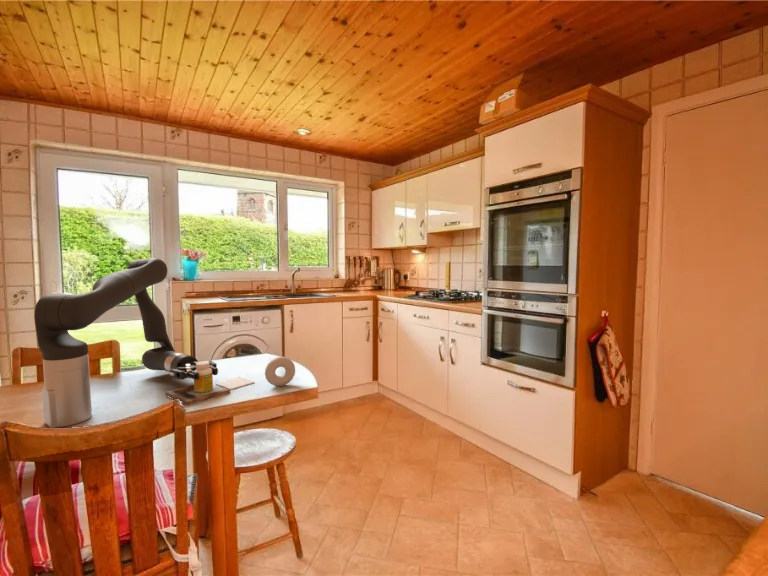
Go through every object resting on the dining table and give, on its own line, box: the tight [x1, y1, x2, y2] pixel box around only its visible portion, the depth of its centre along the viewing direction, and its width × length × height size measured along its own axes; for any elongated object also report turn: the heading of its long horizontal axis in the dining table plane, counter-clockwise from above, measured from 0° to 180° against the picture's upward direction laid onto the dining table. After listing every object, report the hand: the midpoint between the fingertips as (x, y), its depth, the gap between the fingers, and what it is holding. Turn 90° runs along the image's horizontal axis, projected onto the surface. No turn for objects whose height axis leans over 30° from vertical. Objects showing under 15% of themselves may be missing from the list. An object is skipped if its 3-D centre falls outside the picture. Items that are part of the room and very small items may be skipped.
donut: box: [264, 356, 296, 387], centre depth 129 cm, size 10×4×10 cm, turn 116°
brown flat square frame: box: [165, 384, 231, 407], centre depth 121 cm, size 14×14×1 cm
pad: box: [215, 376, 255, 391], centre depth 131 cm, size 9×9×1 cm
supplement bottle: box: [193, 360, 214, 396], centre depth 122 cm, size 5×5×10 cm
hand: (207, 374), depth 121 cm, fingers closed on supplement bottle, 5 cm apart
